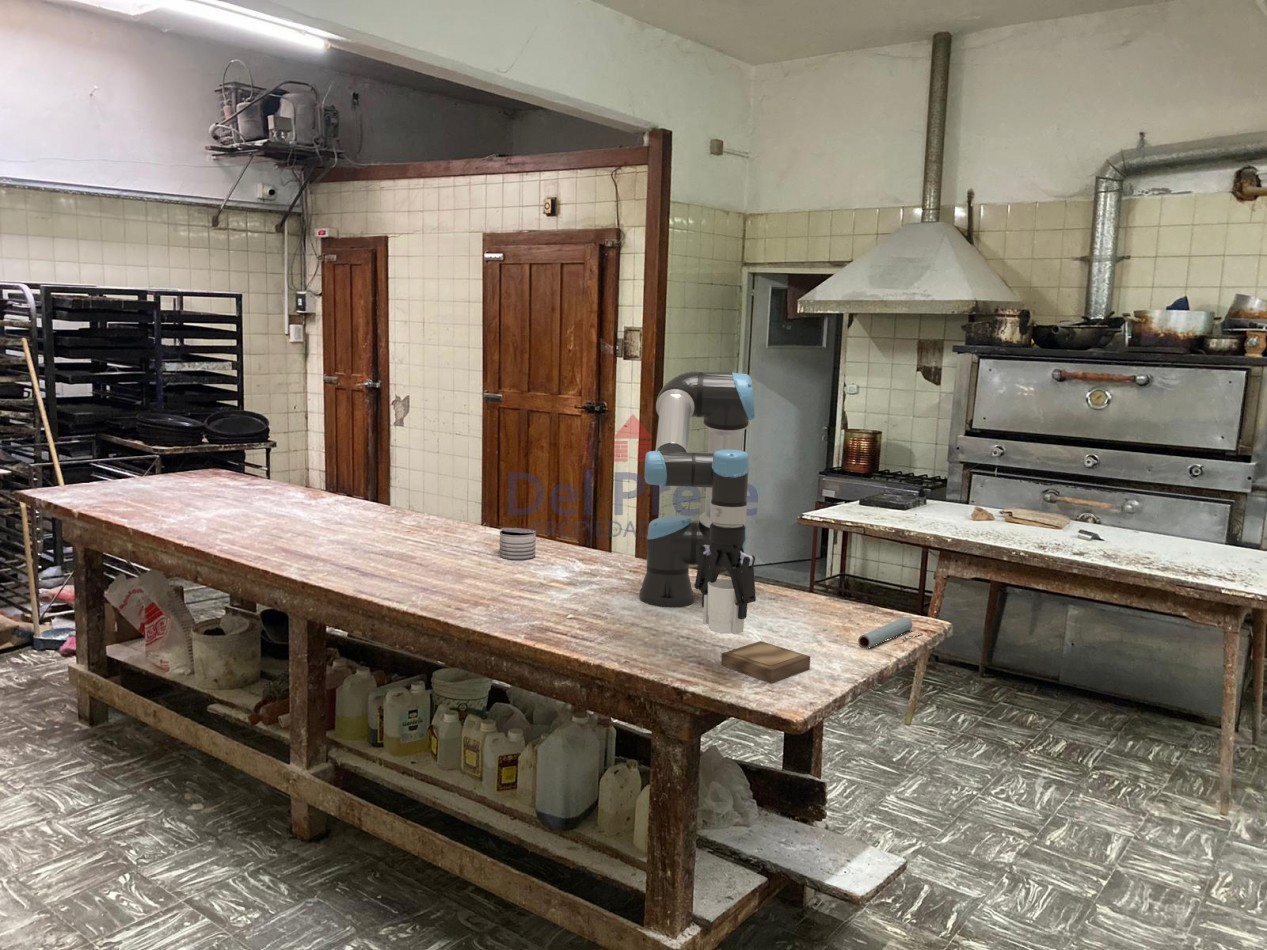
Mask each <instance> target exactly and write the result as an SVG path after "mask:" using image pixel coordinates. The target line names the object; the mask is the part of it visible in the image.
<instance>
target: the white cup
mask: <svg viewBox="0 0 1267 950" xmlns="http://www.w3.org/2000/svg"><path fill="white" fill-rule="evenodd" d="M735 603H737V600H736V596H735V592H734V588H733V584H732V580H731V578H729V579H728V578H717V580H716V582H714V583H711V582H708V616H709V617H708V618H709V624H707V625H708V627H707V628H708V630H710V631H712V632H714V633H718V634H719V633H720V634H732V632H733V611H734V604H735Z"/></svg>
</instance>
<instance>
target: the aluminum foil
mask: <svg viewBox="0 0 1267 950" xmlns="http://www.w3.org/2000/svg"><path fill="white" fill-rule="evenodd" d="M912 629H913V622H912V619H911V618H909V617H907V616H904V617H902V618H900V619H897V620H895V621H892V622H890V623H887V624H885V625H882V626H879V627H878V628H875V629H873V630H871V631H868V632H866V633H864V634H862V635H860V636H859V637H858V639H857V642H858V644H859V646H860V648H861V649H865V648H866V650H868V649H867V648H869V647H871V648H873V647H872V646H874V645H876V644H878V643H881V642H883V641H885V640H887V639H890V638H893V637H896V636H897V637H896V638H899V637H900V636H899V635H901V634H903V635H905V636H904V637H903V638H905V640H906V641H908V640H910V638H906V635H908V634H909V633H911V632H913V631H912ZM910 631H911V632H910ZM907 632H908V633H907ZM904 633H905V634H904ZM917 633H918V634H919V632H917ZM920 634H921V635H920V636H924V635H923V633H920ZM903 635H901V636H903ZM898 636H899V637H898ZM909 637H913V636H909ZM903 638H902V639H903ZM905 640H904V639H903V641H904V642H903V643H905V642H906V641H905ZM881 644H882V643H881ZM876 646H877V645H876ZM874 647H875V646H874ZM869 649H870V648H869Z"/></svg>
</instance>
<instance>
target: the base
mask: <svg viewBox="0 0 1267 950" xmlns="http://www.w3.org/2000/svg"><path fill="white" fill-rule="evenodd" d="M720 661H721V664H720V665H721V666H723V667H724V668H725V667H726V668H728V669H730V670H733V671H736V672H739V673H741V674H743V675H746V676H749V677H750V678H751V677H752V678H754V679H756V680H760V681H763V682H766V683H768V684H774V683H777V682H779V681H781V680H784V679H788V678H789V677H793V676H795V675H798V674H801V673H803V672H807V671H808V670H810V668H811V655H808V654H804V653H801V652H798V651H794V650H791V649H787V648H785V647H781V646H778V645H775V644H772V643H768V642H765V641H764V640H759V641H755V642H753V643H750V644H746V645H744V646H743V645H742V646H741V647H738V648H734V649H731V650H728V651H723V652H722V653H721V660H720Z"/></svg>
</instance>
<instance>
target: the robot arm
mask: <svg viewBox="0 0 1267 950" xmlns="http://www.w3.org/2000/svg"><path fill="white" fill-rule="evenodd" d="M753 387H754V386H753V381H752V377H751V376H750V375H749V374H747V373H739V372H738V373H737V372H734V371H733V372H726V371H725V372H721V371H720V372H719V371H718V372H717V371H715V372H714V371H713V372H712V371H711V372H710V371H689V372H685V373H684V372H683V373H682V374H681V373H680V374H679V375H677V376H675V377H673V378H672V379H670V380H669V381H668V382H667V383H666V384H665V385H664V386H663V387H662V388H661V390H660V391H659V393H658V395H657V398H656V403H655V411H656V414H657V416H658V424H657V431H656V432H657V433H656V441H655V442H656V444H655V450H653V451H651V450H650V451H648V452H646V453H645V459H644V481H645V483H646V484H647V485H650V486H651V485H652V486H653V485H654V486H660V487H693V488H705V506H704V508H705V510H704V512H703V513H702V514H699V515H700V516H699V518H698V522H694V521H692V518H691V517H690V516H687V515H669V516H662V517H657V518H654V519H652V520H651V521H650V522H649V524H648V527H647V536H646V539H647V551H646V554H647V555H646V570H645V572H646V573H645V576H644V578H643V581H642V585H641V588H640V589H639V594H638V595H639V598H638V599H639V600H640V601H641V602H642V603H644V604H647V605H649V606H653V607H660V608H669V609H670V608H672V609H673V608H674V609H675V608H683V607H688V606H691V605H693V604H694V603H695V592H694V590H693V588H692V583H691V579H690V565H691V566H697V570H696V577H695V581H694V582H695V583H694V588H695V590H699V591H700V593H701V607H702V608H703V614H702V615H703V617H702V618H703V619H702V625H708V624H709V618H708V617H709V616H708V582H711V583H714V582H716V580H717V579H719V578H718V577H719V575H720V572H721V571H722V568H725V569H726V570H727V573H728V574H729V575H730V579H731V580H732V584H733V588H734V592H735V596H736V600H737V603H735V604H734V611H733V632H732V633H731V634H733V635H737V634H741V633H744V630H745V629H744V625H745V619H747V615H748V614H747V612H748V604H751V603H754V602H756V599H757V598H756V586H755V585H756V584H755V581H756V580H755V571H754V570H755V568H754V566H755V561H756V556H755V555H753V554H752V555H749V554H747V553H745V550H746V543H747V535H748V527H747V525H746V524H745V523H746V522H747V509H748V508H747V507H748V506H747V504H748V503H747V501H748V500H747V498H748V487H749V486H748V485H749V471H750V464H749V463H750V462H749V459H750V457H749V454H748V452H746V451H743V450H742V439H743V431H745V430H746V429H747V428H748V427H749V421H752V420H755V418H756V416H755V415H756V414H755V412H756V411H755V398H754V397H755V396H754V389H753ZM691 418H703V425H704V427H706V429H708V443H707V445H708V446H707V453H706V452H705V453H703V452H689V448H690V447H689V446H690V445H689V444H690V423H691Z"/></svg>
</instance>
